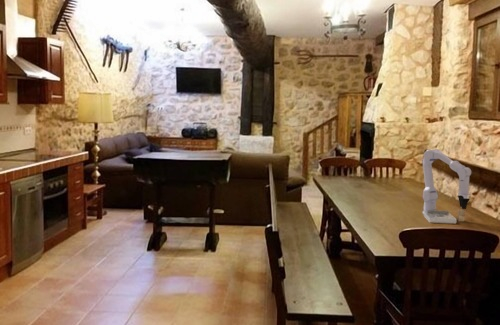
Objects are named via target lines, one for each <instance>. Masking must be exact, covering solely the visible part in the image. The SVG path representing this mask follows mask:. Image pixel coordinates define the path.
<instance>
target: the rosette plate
mask: <svg viewBox="0 0 500 325" xmlns="http://www.w3.org/2000/svg"><path fill="white" fill-rule="evenodd" d="M423 217H424V218H425V219H426V221H427V222H428V223H430V224H434V223H435V224H450V225H451V224H455V225H456V224H457V221H458V218H456V217H455V216H454V215H453V214H451V213H450V211H449V210H436V209H435V210H427V212H424V214H423Z"/></svg>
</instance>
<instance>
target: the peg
mask: <svg viewBox="0 0 500 325" xmlns="http://www.w3.org/2000/svg"><path fill="white" fill-rule="evenodd" d="M457 210H458V211H457V221H458V222H465V212H466V211H465V210H466V209H459V208H458V209H457Z"/></svg>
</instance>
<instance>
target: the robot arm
mask: <svg viewBox="0 0 500 325" xmlns="http://www.w3.org/2000/svg"><path fill="white" fill-rule="evenodd" d="M436 160H440V161H442V162H444V163H445V164H447V165H449V168H450V169H451V170H452V171H453V172H455V173H457V175H458V177H459V178H458V180H459V182H458V183H459V184H458V195H457V199H458V202H459V207H461V210H467V206H468V203H469V202H470V198H468V197H469V196H471V193H469V191H470V176H471V175H472V170H471V168H470V167H468V166H467V167H466V166H465V165H463V164H461V163H460V162H459V161H458V160H452V159H451V158H449V156H448V155H446V154H444V153H443V151H441V150H440V149H437V148H435V149H427V150H426V151H424V153H423V159H422V169H423V171H422V172H423V177H424V179H423V180H424V187H425V188H423V191H422V192H423V193H422V199H423V201H424V203H423V211H421V213H422V214H423V215H424V212H427V210H436V208H437V205H436V204H437V200H438V199H439V193H438V192H437V188H436V187H435V186H434V185H435V184H434V175H433V167H432V166H433V163H434V161H436Z"/></svg>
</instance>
